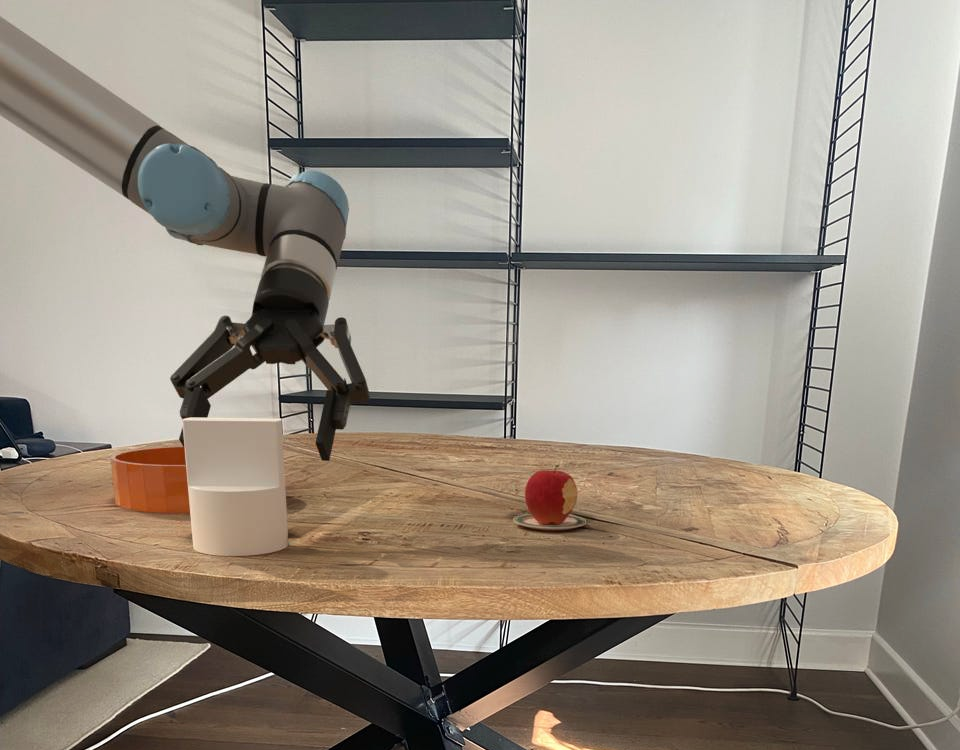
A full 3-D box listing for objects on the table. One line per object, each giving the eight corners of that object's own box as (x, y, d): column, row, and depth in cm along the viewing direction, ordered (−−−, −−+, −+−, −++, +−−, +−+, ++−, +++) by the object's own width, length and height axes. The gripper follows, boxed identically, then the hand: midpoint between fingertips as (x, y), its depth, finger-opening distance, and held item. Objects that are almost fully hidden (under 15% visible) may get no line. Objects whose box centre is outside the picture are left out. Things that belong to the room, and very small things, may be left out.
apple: (582, 519, 104) (585, 461, 102) (589, 533, 97) (593, 471, 94) (512, 517, 104) (514, 460, 102) (514, 532, 97) (516, 470, 94)
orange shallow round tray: (84, 516, 101) (77, 461, 99) (167, 490, 118) (162, 443, 116) (234, 524, 98) (230, 468, 96) (298, 497, 115) (296, 449, 113)
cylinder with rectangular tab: (294, 535, 93) (288, 415, 89) (281, 556, 85) (274, 424, 81) (204, 535, 93) (195, 414, 89) (183, 556, 84) (171, 423, 80)
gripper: (413, 320, 100) (386, 477, 90) (196, 317, 102) (148, 469, 93) (403, 264, 93) (372, 428, 84) (171, 262, 96) (116, 421, 86)
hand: (254, 450), depth 88 cm, fingers open, 13 cm apart
